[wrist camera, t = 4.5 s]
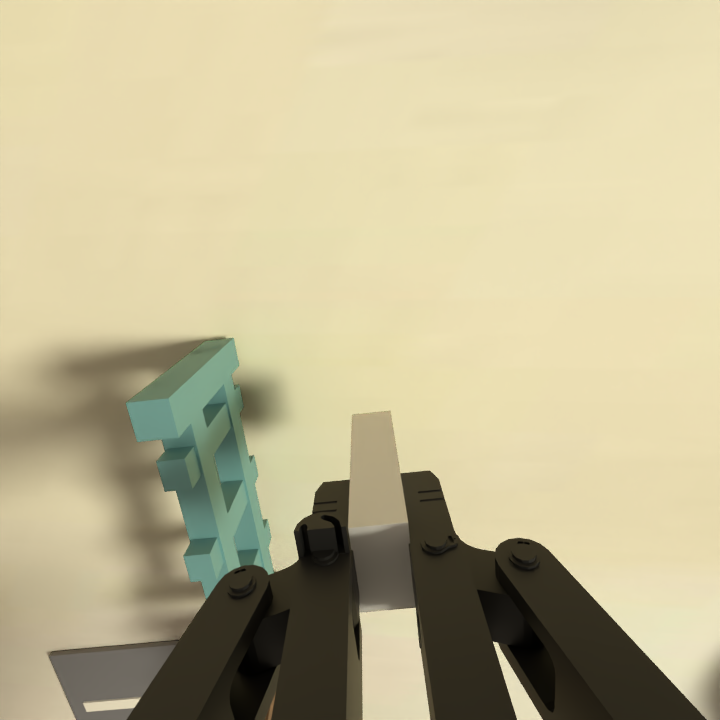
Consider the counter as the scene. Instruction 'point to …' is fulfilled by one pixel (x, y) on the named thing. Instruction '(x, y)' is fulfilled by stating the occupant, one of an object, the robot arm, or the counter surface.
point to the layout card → (108, 677)
